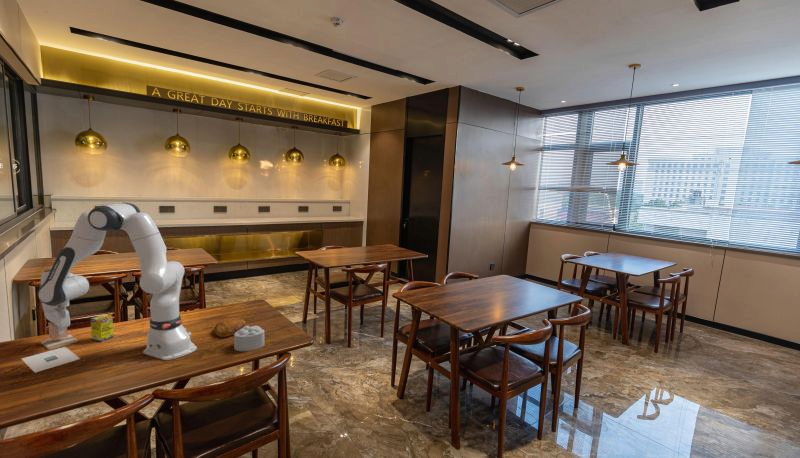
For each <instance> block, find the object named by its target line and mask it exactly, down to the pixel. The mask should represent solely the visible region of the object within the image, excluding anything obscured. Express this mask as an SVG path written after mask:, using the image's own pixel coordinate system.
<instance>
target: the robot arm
mask: <svg viewBox="0 0 800 458" xmlns="http://www.w3.org/2000/svg"><path fill="white" fill-rule="evenodd" d="M72 230H73V231H72V232H71V233H72V234H71V236H70V238H69V240H68V241H67V243H66V245H65V246H64V247H63V248H62V249H61V250H60V252H59V253H58V254H57V256H56V258H55V260H54V263H53V265H52V267H51V268H50V269H47V270H44V271H42V273H41V276H40V286H39V289H38V291H37V292H38V293H37V297H38V300H39V301H40V304H41V307H42V310H43V314H44V315H43V316H44V317H45V319H46V320H48V321H50V322H52V323H53V324H55V325H56V326H58V334H63V333H64V328H65V327H67V328H68V327H70V326H71V319H70V318H71V317H70V312H69V310H68V309H67V307H69V306H70V301H71V300H74V299H76V298H78V297H82V296H83V295H86V294H88V293H89V291H90V287H91V284H90V281H89V279H88V278H86V276H83V275H79V274H74V273H72V272H71V270H72V269H73V267H74V266H75V265H77V264H78V263H79V262H80V261H82V260H85V259H86V258H88V257H90V256H92V255H94V254H96V253H97V252H98V251H99V250H101V248H102V246H103V245H104V241H105V237H106V234H107V232H108V231H109V232H110V231H111V232H112V231H113V232H114V231H115V232H116V231H119V230H123V231H125V232H126V233H127V235H128V236H129V239H130V242H131V244H132V246H133V248H134V251H135V253H136V255H137V258H138V261H139V266H140V280H139V286H140V288H141V290H142V291H143V292H145V293H147V294H151V295H152V298H151V300H150V303H149V305H150V318H149V328H150V329H149V331H148V333H147V334H146V348H145V349H143V355H147V356H150V357H153V358H156V359H159V360H162V361H170V360H175V359H178V358H181V357H184V356H187V355H189V354H191V353H193V352H195V351H196V350H197V349H198V347H197V346H196V345H195V344H194V343H193V342H192V341H191V337H192V332H190V331H187V328H186V327H185V326H183V324H182V323H183V322H182V321H183V320H182V317H181V314H180V295H181V290H182V282H183V278H184V275H185V267H184V265H183V264H182V263H181V262H179V261H176V260H174V261H173V260H171V261H168V259H167V246H166V244H165V241H164V240H163V237H162V234H161V232H160V231H159V228H158V226H157V224H156V223H155V221H154V220H153V218H152V217H151V216H150V214H148V213H147V212H141V210H140V208H139V207H138V206H137V205H136V204H134V203H131V202H121V203H109V204H103V205H99V206H96V207H94V208H92V209H91V210H85V211H83V212H82V213H81V214H79V217H78V219H77V220H76V222H75V224H74V226H73V229H72Z"/></svg>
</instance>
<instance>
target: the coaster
mask: <svg viewBox="0 0 800 458" xmlns="http://www.w3.org/2000/svg"><path fill="white" fill-rule="evenodd" d="M67 334H68V337H64V338H60V339H56V340H52V339H51V338H48V339H44V340H42V341H40V344H41V345H42V346H44V347H45V348H46V349H47V350H51V349H52V350H53V349H57V348H58V347H59V348H60V347H64V346H67V345H69V344H73V343H77V342H78V339H77V338H76V337H74V336H73V334H70V333H67Z"/></svg>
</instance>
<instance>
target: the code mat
mask: <svg viewBox="0 0 800 458" xmlns="http://www.w3.org/2000/svg"><path fill="white" fill-rule="evenodd" d="M77 360H81V358H80V357H79V356H77V354H75V353H74V352H73V351H72V350H70V349H69V348H68V347H66V346H61V347H59V348H58V347H57V348H54V349H52V350H51V349H50V350H48V351H44V352H40V353H36V354H34V355H31V356H26V357H23V358H21V361H23V362H24V363H25V365H27V366H28V367H29V369H31V371H32V372H34V373H38V372H41V371H42V372H43V371H44V370H48V369H51V368H55V367H58V366H62V365H64V364H68V363H71V362H74V361H77Z"/></svg>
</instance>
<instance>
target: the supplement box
mask: <svg viewBox="0 0 800 458" xmlns="http://www.w3.org/2000/svg"><path fill="white" fill-rule="evenodd" d="M113 320H114V319H113V315H111V314H109V315H108V314H104V313H103V314H101V315H98V316H95V317H91V318H90V331H91V341H94V342H98V343H99V342H100V343H102V342H105V341H107V340H111V339H112V338H114V321H113Z"/></svg>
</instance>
